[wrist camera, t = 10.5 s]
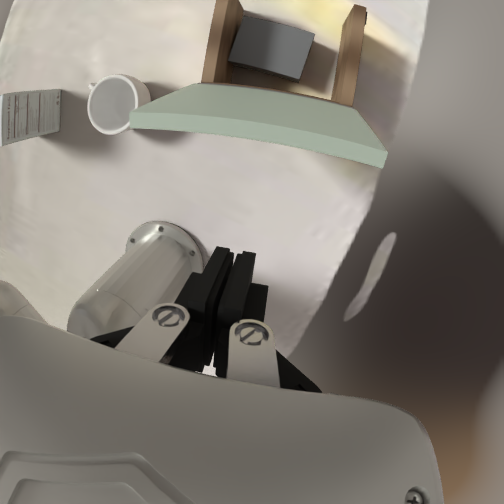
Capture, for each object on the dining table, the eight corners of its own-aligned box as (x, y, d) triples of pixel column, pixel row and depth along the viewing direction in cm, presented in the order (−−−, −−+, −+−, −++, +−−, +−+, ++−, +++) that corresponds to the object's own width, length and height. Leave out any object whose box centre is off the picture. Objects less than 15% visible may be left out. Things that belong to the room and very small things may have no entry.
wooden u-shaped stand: (340, 118, 30) (353, 118, 23) (216, 97, 31) (196, 92, 24) (354, 28, 24) (369, 8, 18) (231, 9, 25) (216, -14, 19)
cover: (353, 106, 22) (351, 116, 23) (199, 81, 23) (198, 91, 24) (388, 152, 13) (382, 168, 14) (128, 112, 14) (129, 128, 15)
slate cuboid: (298, 83, 29) (299, 79, 26) (234, 65, 29) (227, 60, 26) (312, 41, 26) (314, 33, 23) (248, 24, 26) (243, 15, 23)
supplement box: (34, 135, 35) (-21, 151, 24) (35, 94, 32) (-21, 102, 21) (60, 132, 35) (1, 147, 24) (62, 88, 31) (2, 92, 20)
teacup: (169, 94, 31) (150, 92, 26) (139, 141, 35) (118, 147, 30) (118, 62, 29) (96, 58, 25) (93, 107, 33) (69, 109, 28)
